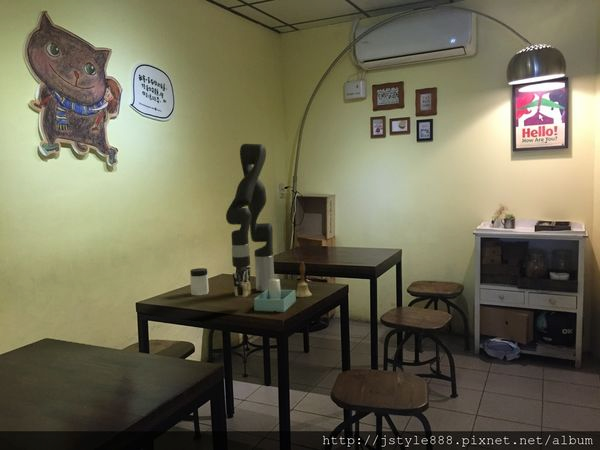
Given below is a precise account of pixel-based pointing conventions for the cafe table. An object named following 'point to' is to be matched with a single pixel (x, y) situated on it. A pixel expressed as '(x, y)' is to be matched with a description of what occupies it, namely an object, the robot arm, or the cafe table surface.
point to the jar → (199, 281)
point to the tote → (274, 301)
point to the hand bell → (302, 284)
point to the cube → (244, 289)
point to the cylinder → (274, 289)
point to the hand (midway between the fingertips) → (243, 293)
